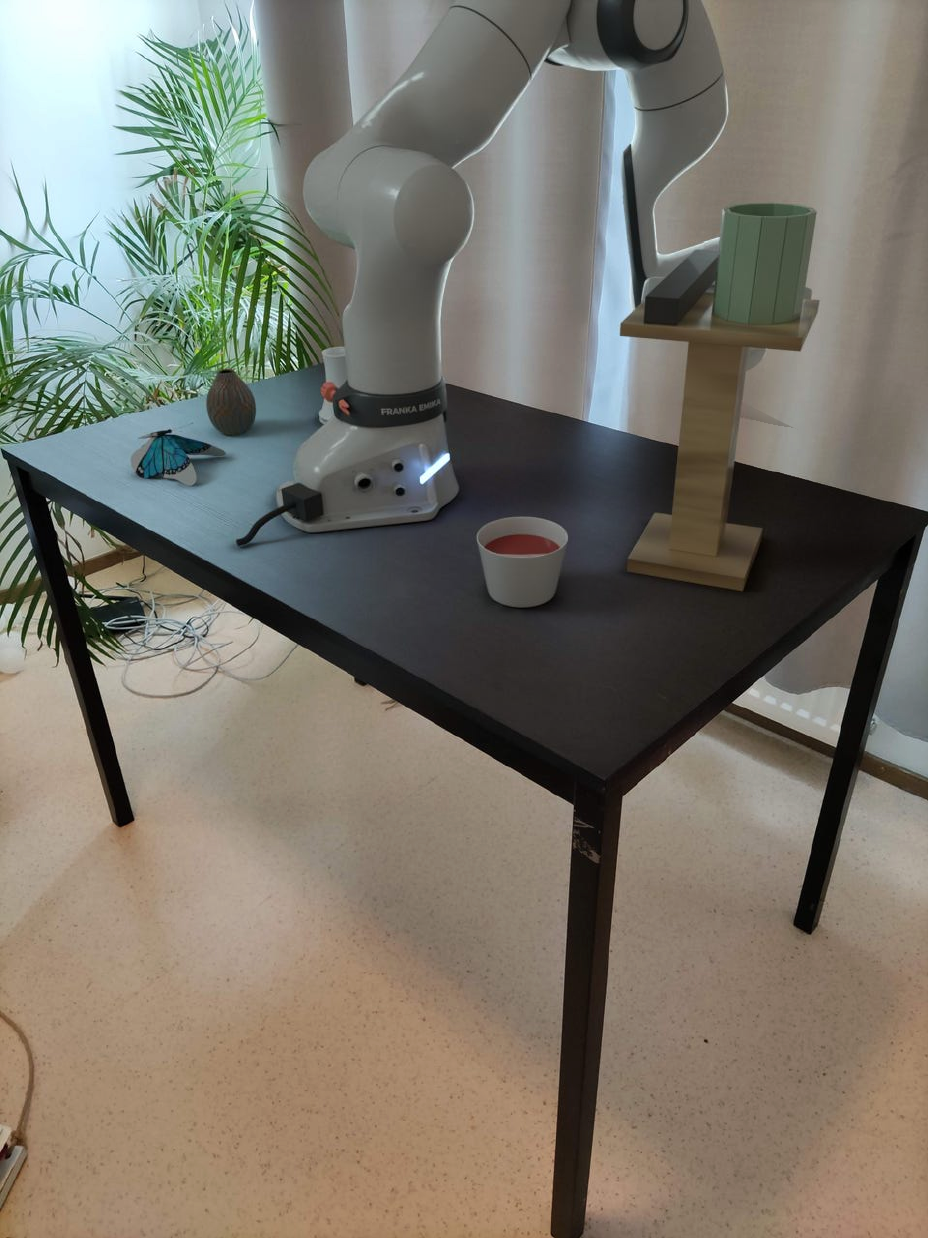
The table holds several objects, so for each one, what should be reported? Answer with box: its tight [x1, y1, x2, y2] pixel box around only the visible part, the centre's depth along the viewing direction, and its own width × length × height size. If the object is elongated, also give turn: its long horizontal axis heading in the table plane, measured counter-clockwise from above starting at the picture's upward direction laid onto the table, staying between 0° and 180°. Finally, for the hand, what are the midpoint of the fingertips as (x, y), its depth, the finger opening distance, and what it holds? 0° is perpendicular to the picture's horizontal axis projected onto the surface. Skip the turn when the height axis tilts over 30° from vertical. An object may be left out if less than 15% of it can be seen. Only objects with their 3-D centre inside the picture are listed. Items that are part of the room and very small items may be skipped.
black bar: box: [644, 250, 718, 326], centre depth 96 cm, size 22×3×2 cm, turn 157°
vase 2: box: [318, 346, 347, 425], centre depth 142 cm, size 8×8×10 cm
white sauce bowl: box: [476, 516, 569, 609], centre depth 98 cm, size 9×9×6 cm
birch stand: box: [619, 292, 821, 592], centre depth 98 cm, size 14×16×26 cm
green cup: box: [712, 202, 818, 324], centre depth 88 cm, size 8×8×9 cm
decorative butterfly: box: [130, 422, 227, 487], centre depth 129 cm, size 10×6×10 cm
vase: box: [205, 368, 257, 436], centre depth 139 cm, size 7×7×9 cm
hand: (719, 282), depth 114 cm, fingers open, 8 cm apart
